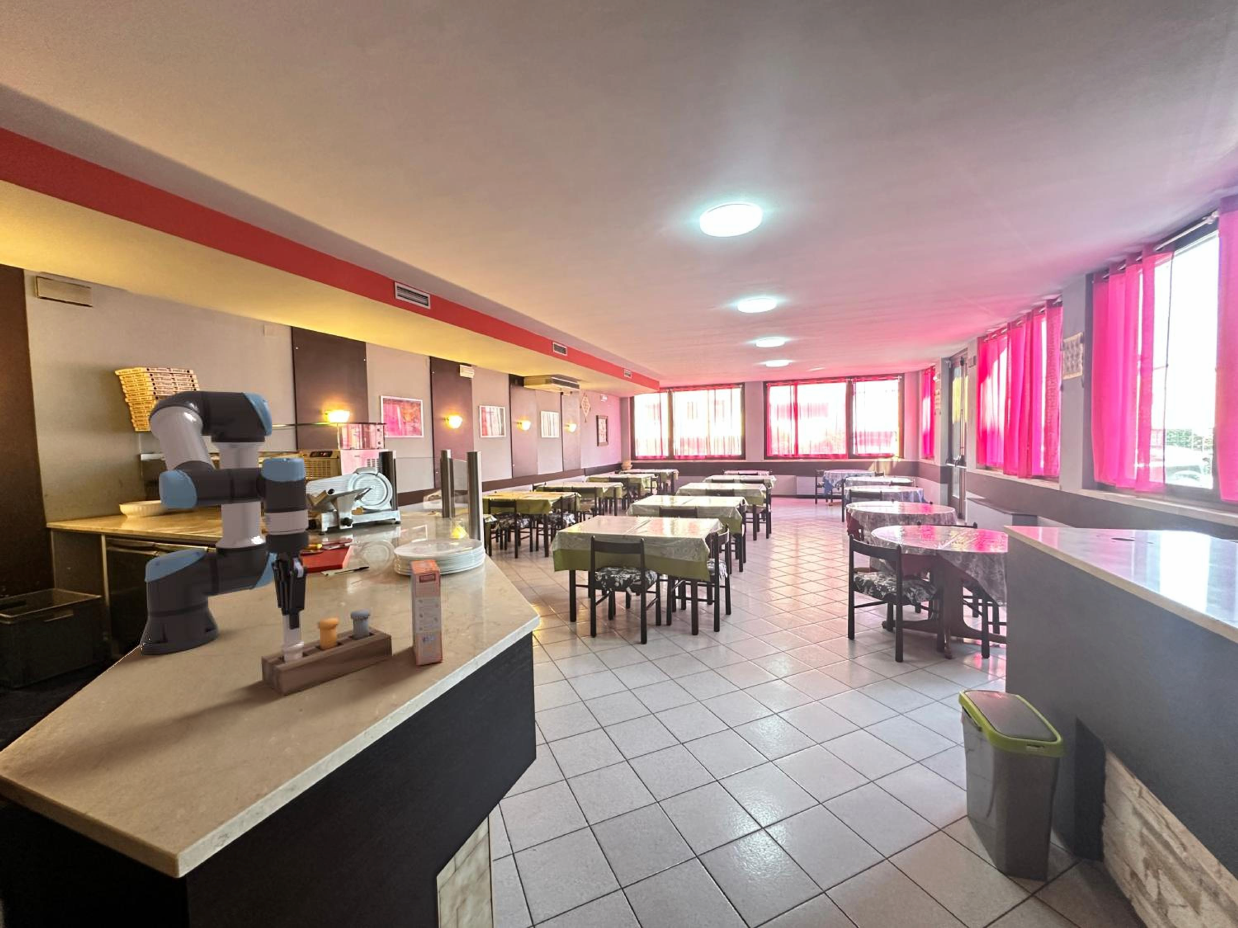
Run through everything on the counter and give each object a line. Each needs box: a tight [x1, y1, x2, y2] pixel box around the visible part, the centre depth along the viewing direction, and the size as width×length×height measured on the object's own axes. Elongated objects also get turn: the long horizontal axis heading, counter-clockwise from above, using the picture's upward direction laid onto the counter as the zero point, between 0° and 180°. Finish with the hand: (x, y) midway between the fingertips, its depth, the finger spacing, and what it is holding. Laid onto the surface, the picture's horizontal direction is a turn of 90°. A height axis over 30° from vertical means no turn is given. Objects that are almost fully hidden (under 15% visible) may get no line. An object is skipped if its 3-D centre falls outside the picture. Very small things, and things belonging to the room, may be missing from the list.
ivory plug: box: [281, 639, 305, 663], centre depth 105 cm, size 4×4×7 cm
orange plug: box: [316, 617, 340, 651], centre depth 110 cm, size 4×4×7 cm
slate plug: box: [350, 609, 371, 641], centre depth 116 cm, size 4×4×7 cm
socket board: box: [260, 626, 393, 697], centre depth 110 cm, size 12×22×5 cm, turn 142°
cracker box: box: [409, 558, 444, 667], centre depth 117 cm, size 14×6×21 cm, turn 26°
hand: (292, 642), depth 105 cm, fingers closed
